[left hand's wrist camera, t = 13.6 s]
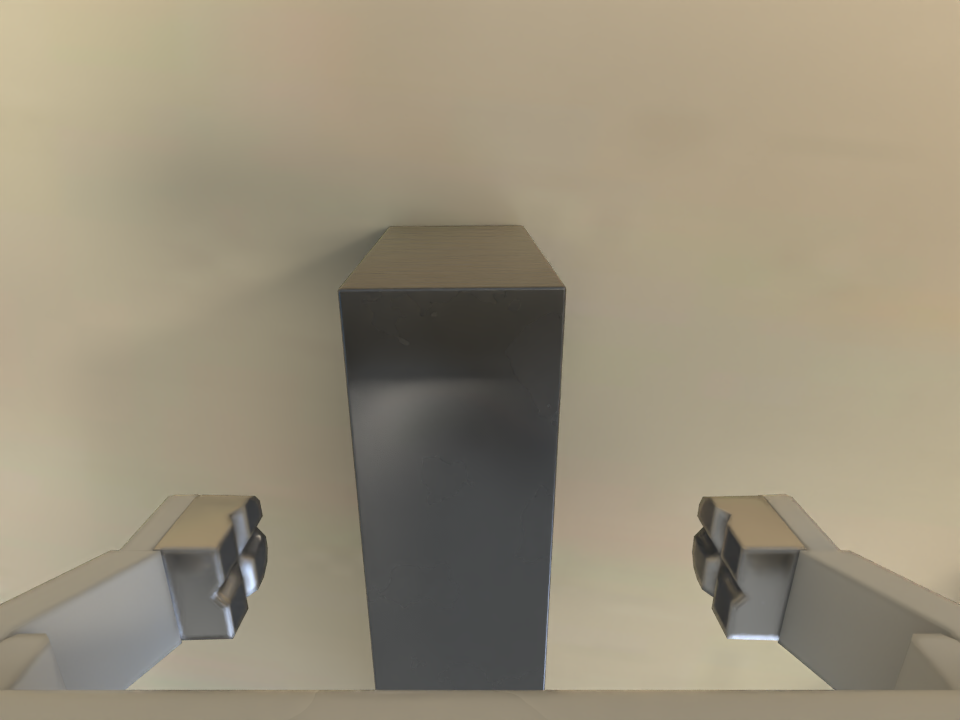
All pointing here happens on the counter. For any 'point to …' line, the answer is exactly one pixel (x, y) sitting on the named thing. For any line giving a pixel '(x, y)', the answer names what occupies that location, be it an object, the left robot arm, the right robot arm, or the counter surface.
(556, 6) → the counter surface
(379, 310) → the bar
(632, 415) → the counter surface
